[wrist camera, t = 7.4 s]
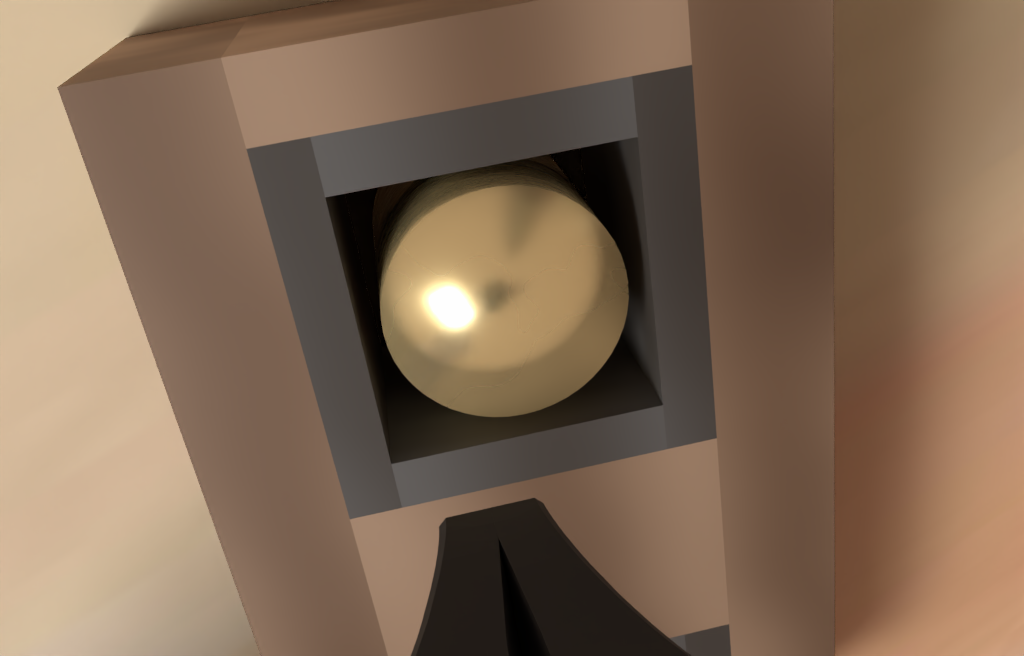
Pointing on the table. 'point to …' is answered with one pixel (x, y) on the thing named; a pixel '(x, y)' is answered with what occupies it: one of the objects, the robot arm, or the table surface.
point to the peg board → (371, 369)
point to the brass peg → (497, 286)
